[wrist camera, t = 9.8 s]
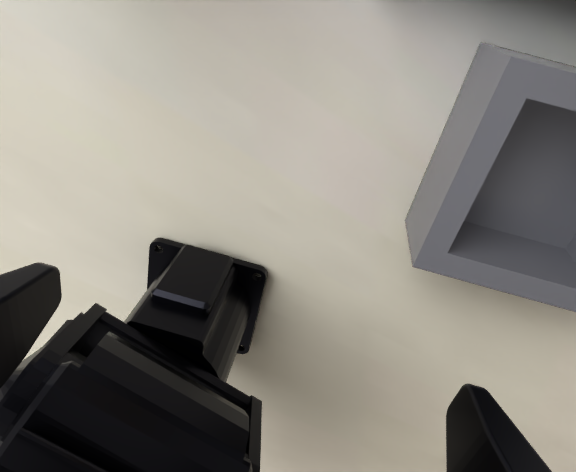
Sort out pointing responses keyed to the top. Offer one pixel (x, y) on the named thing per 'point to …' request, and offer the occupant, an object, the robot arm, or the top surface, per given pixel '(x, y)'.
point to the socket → (504, 181)
